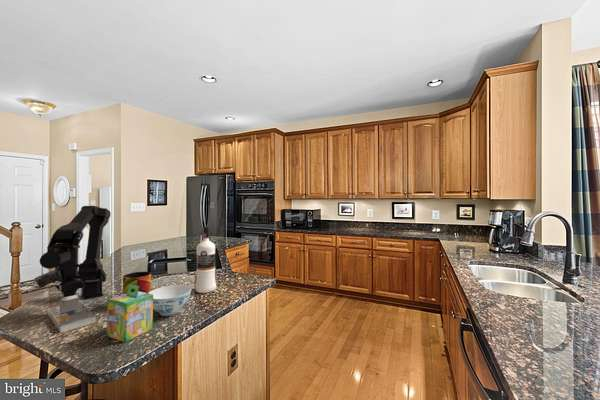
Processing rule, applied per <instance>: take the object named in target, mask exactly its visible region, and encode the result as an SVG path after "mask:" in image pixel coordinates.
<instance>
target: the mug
mask: <svg viewBox="0 0 600 400" xmlns="http://www.w3.org/2000/svg"><path fill="white" fill-rule="evenodd" d="M129 285H137V286H139V290H138V291H140V292H145V293H149V292H150V291H152V273H151V272H150V271H136V272H130V273H127V274H124V275H123V276H122V295H124V294H127V291H128V287H129ZM134 291H135V289H131V292H134Z"/></svg>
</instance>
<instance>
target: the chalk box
mask: <svg viewBox="0 0 600 400" xmlns="http://www.w3.org/2000/svg"><path fill="white" fill-rule="evenodd" d="M131 289H135V291H134V292H131ZM138 290H139V286H137V285H129V287H128V291H127V294H124V295H123V294H121V295H118V296H114V297H111V298H107V310H106V311H107V316H106V337H109V338H111V339H114V340H117V341H120V342H123V343H127V342H129V341H131V340H133V339H135V338H137V337H139V336H141V335H143V334H146V333H147V332H149V331H151V330H153V324H154V323H153V322H154V321H153V319H154V309H153V294H149V293H145V292H140V291H138Z"/></svg>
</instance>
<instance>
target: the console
mask: <svg viewBox="0 0 600 400" xmlns="http://www.w3.org/2000/svg"><path fill="white" fill-rule="evenodd" d="M47 315H48V316H49V318H50V319H51V321H52V323H53V324H54V326H55V327H56V329H58V331H59V333H64V332H67V331H70V330H74V329H77V328H81V327H84V326H87V325H91V324H94V323H96V322H97V316H96V315H95V314H94V313H93V312H92V311H90V309H88V308H87V307H86V306H85V305H84V304H83V303H82V302H80V301H79V309H77V310H73V311H70V312H66V313H62V314H61V312H60V305H59V306H54V307H50V308H47Z"/></svg>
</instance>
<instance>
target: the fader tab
mask: <svg viewBox="0 0 600 400" xmlns="http://www.w3.org/2000/svg"><path fill="white" fill-rule="evenodd" d="M79 302H80V297H79V296H78V295H77V294H75V295H73V296H69V297H64V298H63V297H62V298H61V299H59V306H60V312H61V314H62V313H66V312H70V311H73V310H77V309H79Z"/></svg>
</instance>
